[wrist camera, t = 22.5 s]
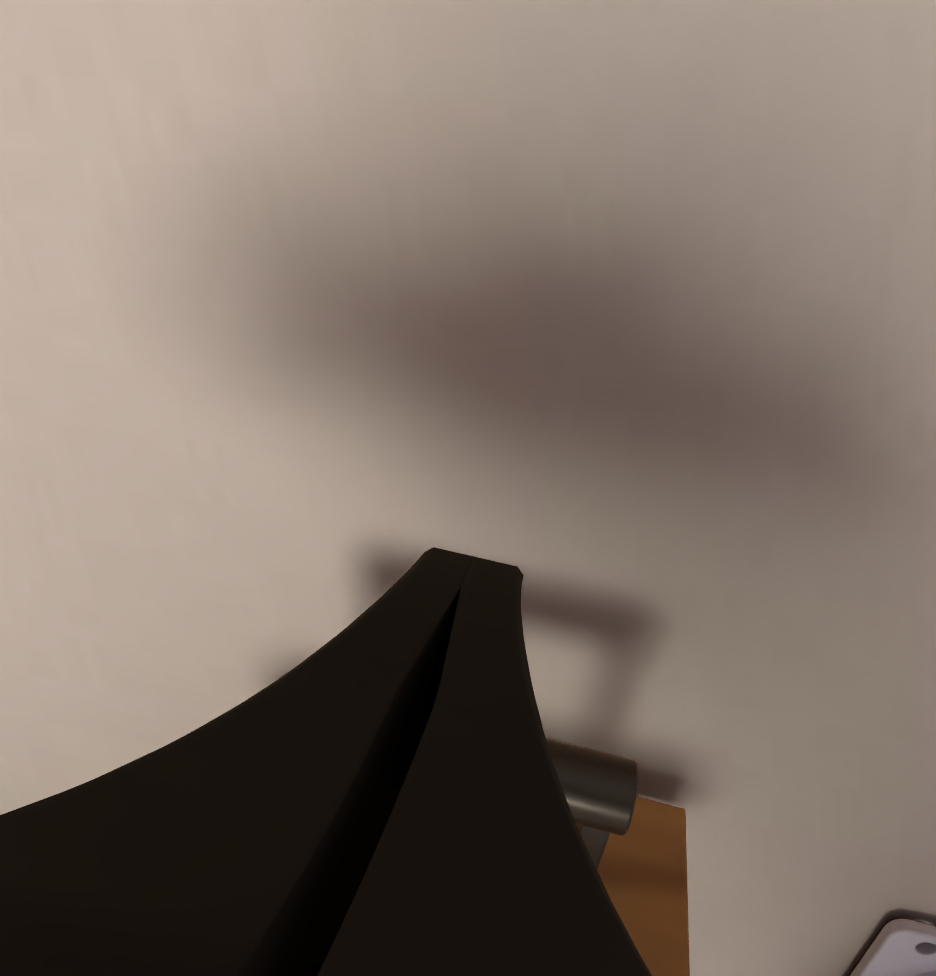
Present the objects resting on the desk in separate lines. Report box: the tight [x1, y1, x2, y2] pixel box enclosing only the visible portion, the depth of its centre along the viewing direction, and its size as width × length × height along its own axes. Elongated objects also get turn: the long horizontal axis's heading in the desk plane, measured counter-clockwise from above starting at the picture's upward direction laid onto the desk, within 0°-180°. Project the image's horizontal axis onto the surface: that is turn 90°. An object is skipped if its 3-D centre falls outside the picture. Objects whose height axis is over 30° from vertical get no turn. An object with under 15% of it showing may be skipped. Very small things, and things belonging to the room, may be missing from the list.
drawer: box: [546, 738, 690, 976], centre depth 21 cm, size 18×11×6 cm, turn 172°
